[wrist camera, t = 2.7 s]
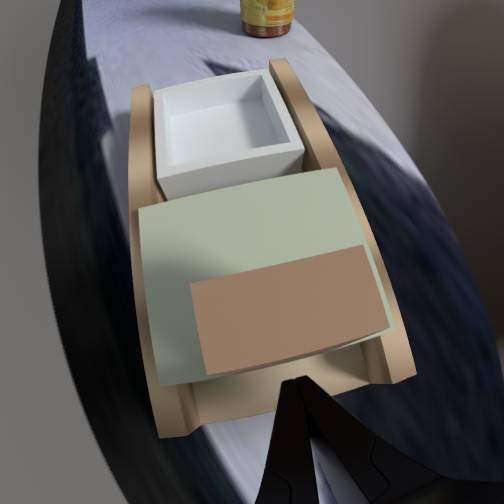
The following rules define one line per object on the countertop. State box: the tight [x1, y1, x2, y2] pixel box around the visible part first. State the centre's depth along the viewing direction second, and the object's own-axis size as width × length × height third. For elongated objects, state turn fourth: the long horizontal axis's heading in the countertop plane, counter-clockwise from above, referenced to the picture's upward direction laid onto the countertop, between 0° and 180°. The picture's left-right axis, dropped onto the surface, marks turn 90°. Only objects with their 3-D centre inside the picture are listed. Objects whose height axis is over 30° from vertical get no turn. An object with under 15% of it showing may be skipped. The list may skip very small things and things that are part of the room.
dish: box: [154, 69, 305, 201], centre depth 21 cm, size 9×9×3 cm
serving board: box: [128, 58, 417, 438], centre depth 19 cm, size 24×14×4 cm, turn 13°
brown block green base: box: [138, 167, 396, 387], centre depth 11 cm, size 9×11×8 cm
